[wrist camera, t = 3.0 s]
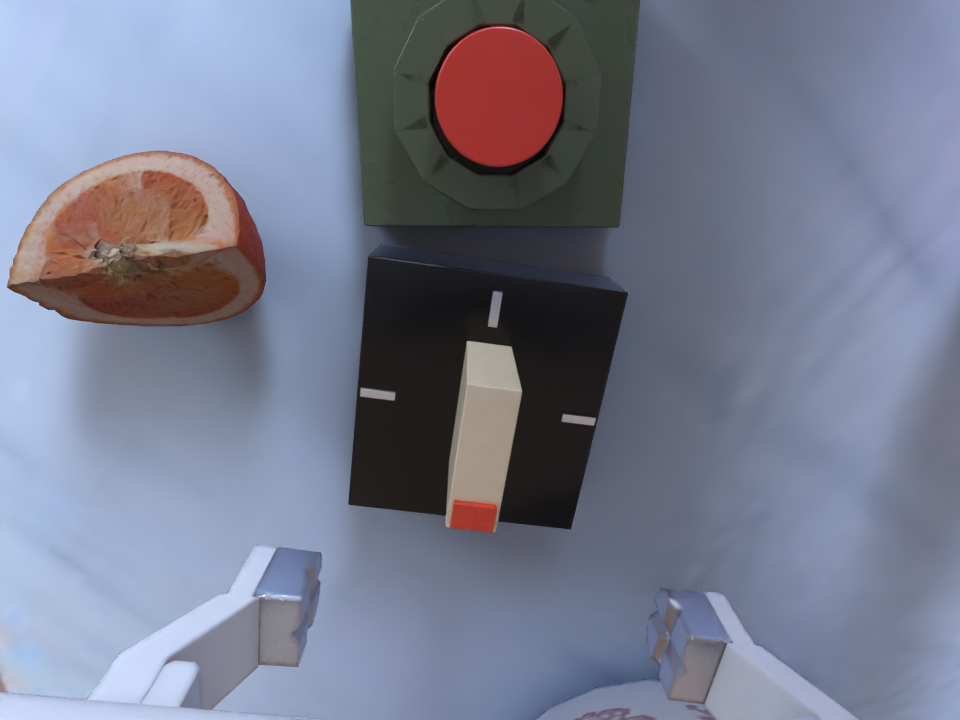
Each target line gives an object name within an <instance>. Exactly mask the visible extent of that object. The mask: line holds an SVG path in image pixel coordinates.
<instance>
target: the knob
mask: <svg viewBox="0 0 960 720" xmlns="http://www.w3.org/2000/svg"><path fill="white" fill-rule="evenodd" d="M521 396H522V388H521V384H520V380H519V376H518V372H517V367H516V363H515V359H514V355H513V351H512V347H510V346H503V345H495V344H488V343H480V342H473V341H467V344H466V350H465V357H464V364H463V371H462V378H461V384H460V391H459V398H458V405H457V412H456V418H455V425H454V432H453V439H452V446H451V452H450V459H449V473H448V490H447V507H446V524H445V526H446V527H447V528H455V529H464V530H474V531H483V532H492V533H495V532H496V529H497V524H498V519H499V513H500V508H501V503H502V497H503V492H504V487H505V481H506V476H507V471H508V465H509V460H510V455H511V449H512V444H513V439H514V433H515V428H516V423H517V418H518V412H519V407H520V402H521Z"/></svg>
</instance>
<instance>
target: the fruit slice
mask: <svg viewBox="0 0 960 720" xmlns="http://www.w3.org/2000/svg"><path fill="white" fill-rule="evenodd" d="M265 282H266V274H265V258H264V252H263V246H262V241H261V239H260V236H259V234H258V231H257V228H256V225H255V223H254V221H253V219H252V217H251V216H250V214H249V212H248V210H247V207H246V205H245V202H244V200H243V199H242V198H241V196H240V195H239V193H238V192H237V191H236V190H235V189H234V188H233V187H232V186H231V185H230V184H229V182H228V181H227V180H226V178H225V177H223V176H222V175H221V174H220V173H219V172H218V171H217V170H216V169H215V168H214V167H212V166H211V165H209V164H207V163H205V162H203V161H201V160H200V159H198V158H196V157H193V156H190V155H186V154H182V153H174V152H168V151H150V152H141V153H136V154H131V155H126V156H122V157H119V158H116V159H113V160H110V161H107V162H105V163H102V164H100V165H98V166H96V167H93V168H91V169H88V170H86V171H83V172H82V173H80V174H78V175H77V176H75V177H73V178H72V179H70V180H68V181H67V182H65V183H64V184H62V185H61V186H60V187H58V188H57V189H56V190H55V191H54V192H53V193H52V194H50V195H49V196H48V198H47V199H46V201H45V202H44V203H43V204H42V206H41V207H40V208H39V210H38V211H37V213H36V214H35V216H34V217H33V220H32V222H31V223H30V224H29V225H28V227H27V228H26V230H25V233H24V235H23V237H22V239H21V241H20V244H19V246H18V251H17V254H16V255H15V257H14V259H13V265H12V267H11V268H10V278H9V280H8V285H7V288H9V289H10V290H12V291H14V292H16V293H19V294H21V295H23V296H25V297H27V298H28V299H30V300H32V301H35V302H39V305H40V306H42V307H44V308H46V309H48V310H55V311H56V312H58V313H59V314H60V315H62V316H63V317H65V318H68V319H72V320H79V321H86V322H94V323H103V324H117V325H135V326H187V325H196V324H204V323H210V322H216V321H220V320H224V319H228V318H230V317H233V316H236V315H238V314H240V313H242V312H243V311H245V310H247V309H248V308H249V307H251V306H252V305H253V304H254V303H255V302H256V301H257V300H258V299H259V298H260V297H261V295H262V293H263V290H264V286H265Z"/></svg>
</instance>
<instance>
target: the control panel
mask: <svg viewBox="0 0 960 720" xmlns="http://www.w3.org/2000/svg"><path fill="white" fill-rule="evenodd" d="M627 296H628V293H627V292H626V291H625V290H624V289H623V288H621V287H620V286H619V285H618V284H617V283H615V282H614V281H613V280H612V279H610V278H609V277H603V276H596V275H590V274H583V273H576V272H569V271H562V270H555V269H548V268H541V267H534V266H527V265H520V264H513V263H507V262H500V261H493V260H486V259H479V258H472V257H465V256H458V255H451V254H444V253H437V252H431V251H424V250H417V249H410V248H403V247H396V246H389V245H382V244H381V245H379V246H378V247H377V248H376V249H375V250H374V251H373V252H372V253H371V254H370V255H369V256H368V265H367V277H366V290H365V302H364V315H363V327H362V340H361V352H360V365H359V377H358V390H357V402H356V415H355V427H354V439H353V452H352V464H351V477H350V489H349V502H348V503H349V505H356V506H365V507H374V508H383V509H392V510H401V511H410V512H419V513H428V514H437V515H446V507H447V490H448V473H449V459H450V452H451V446H452V439H453V432H454V425H455V418H456V412H457V405H458V398H459V391H460V384H461V378H462V371H463V364H464V357H465V350H466V344H467V341H473V342H480V343H488V344H495V345H503V346H510V347H512V351H513V355H514V359H515V363H516V367H517V372H518V376H519V380H520V384H521V388H522V396H521V402H520V407H519V412H518V418H517V423H516V428H515V433H514V439H513V444H512V449H511V455H510V460H509V465H508V471H507V476H506V481H505V487H504V492H503V497H502V503H501V508H500V513H499V519H498V521H499V522H508V523H517V524H526V525H535V526H544V527H553V528H562V529H571V527H572V523H573V519H574V515H575V511H576V507H577V503H578V498H579V494H580V490H581V486H582V482H583V478H584V474H585V469H586V465H587V461H588V457H589V453H590V449H591V445H592V441H593V436H594V432H595V428H596V424H597V420H598V416H599V412H600V407H601V403H602V399H603V395H604V391H605V387H606V383H607V378H608V374H609V370H610V366H611V362H612V358H613V354H614V350H615V345H616V341H617V337H618V333H619V329H620V325H621V321H622V316H623V312H624V308H625V304H626V300H627Z"/></svg>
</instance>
